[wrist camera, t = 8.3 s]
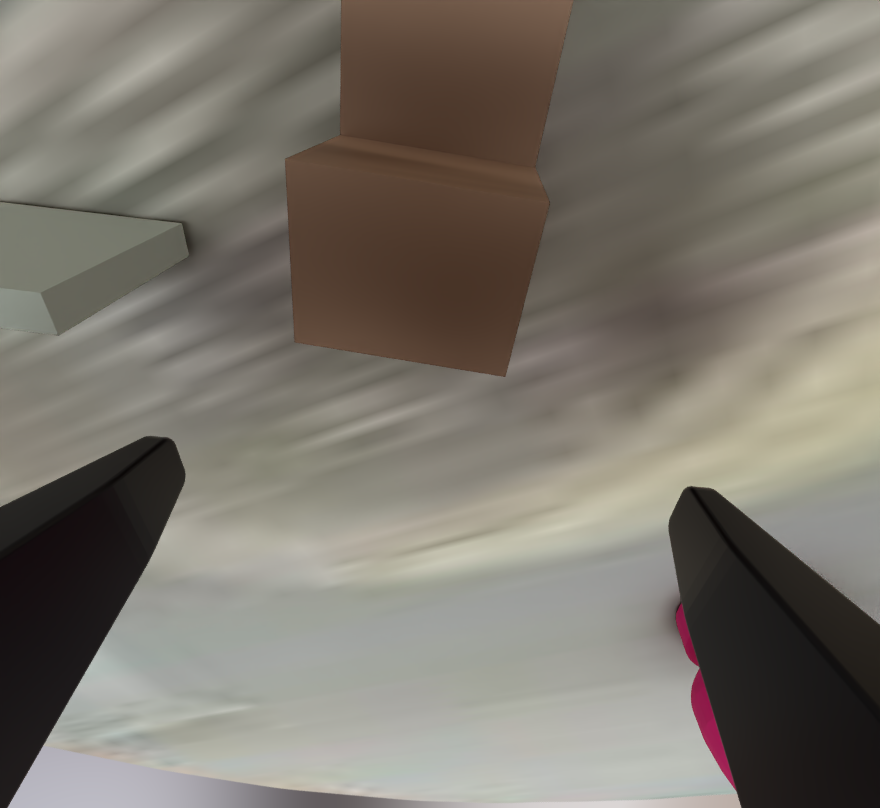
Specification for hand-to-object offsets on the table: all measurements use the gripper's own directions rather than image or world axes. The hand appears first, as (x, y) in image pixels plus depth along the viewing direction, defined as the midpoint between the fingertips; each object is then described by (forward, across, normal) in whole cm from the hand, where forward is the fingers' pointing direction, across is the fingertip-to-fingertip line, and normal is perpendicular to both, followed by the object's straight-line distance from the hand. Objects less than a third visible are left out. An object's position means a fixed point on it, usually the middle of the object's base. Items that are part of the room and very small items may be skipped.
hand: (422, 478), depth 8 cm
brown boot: (+8, 0, -5) cm, 10 cm away
